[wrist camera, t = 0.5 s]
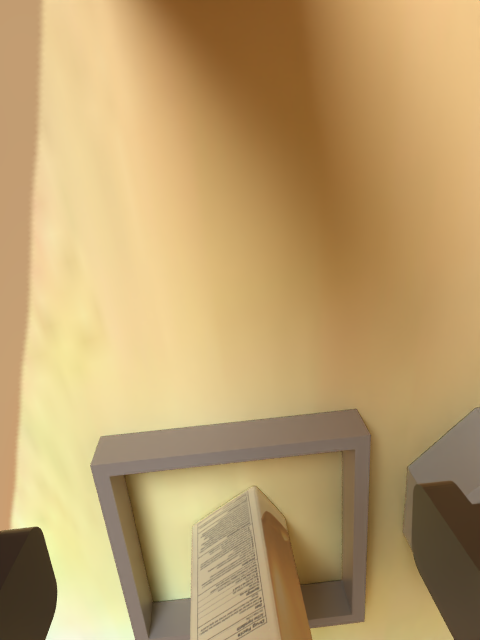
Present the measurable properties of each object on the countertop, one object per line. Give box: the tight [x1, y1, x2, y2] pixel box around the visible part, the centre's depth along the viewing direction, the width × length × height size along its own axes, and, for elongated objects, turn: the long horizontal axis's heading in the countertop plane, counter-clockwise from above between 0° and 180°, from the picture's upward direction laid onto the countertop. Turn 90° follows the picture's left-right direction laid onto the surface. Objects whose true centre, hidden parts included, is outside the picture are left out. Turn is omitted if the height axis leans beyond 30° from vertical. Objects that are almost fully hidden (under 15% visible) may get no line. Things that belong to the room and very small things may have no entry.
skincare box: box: [190, 486, 312, 640], centre depth 30 cm, size 6×4×12 cm
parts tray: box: [90, 409, 371, 640], centre depth 34 cm, size 18×18×3 cm
